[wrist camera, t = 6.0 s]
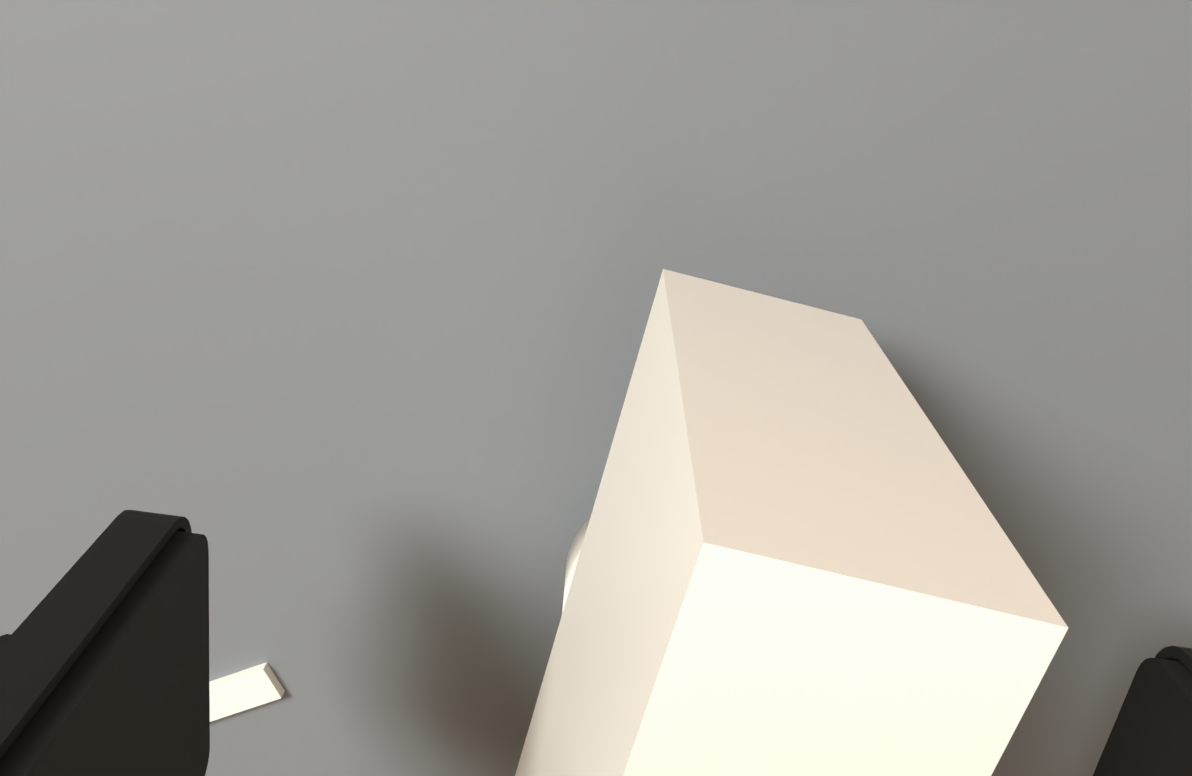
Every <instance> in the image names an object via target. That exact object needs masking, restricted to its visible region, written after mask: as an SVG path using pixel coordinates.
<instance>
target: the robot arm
mask: <svg viewBox="0 0 1192 776" xmlns="http://www.w3.org/2000/svg"><path fill="white" fill-rule="evenodd" d="M209 752H210V696H209V548H208V541H207V538H206V536H205V535H204V534H197V533H192V531H191V526H190V523H189V520H188V519H187V518H186V517H182V516H175V515H167V514H159V513H152V512H144V511H136V510H124V511H123V512H121V513H120V514H119V515H118V516H117V517H116V518H115V519H114V520H113V521H112V523H111V524H110V525H109V526H108V527H107V528H106V529H105V530H104V532H103V533H102V534H101V535H100V536H99V537H98V538H97V539H96V540H95V542H94V543H93V544H92V545H91V546H90V547H89V548H88V549H87V551H86V552H85V553H84V554H83V555H82V556H81V557H80V558H79V560H78V561H77V562H76V563H75V564H74V565H73V566H72V567H71V569H70V570H69V571H68V572H67V573H66V574H65V575H64V576H63V577H62V579H61V580H60V581H59V582H58V583H57V584H56V585H55V586H54V588H53V589H52V590H51V591H50V592H49V593H48V594H47V595H46V597H45V598H44V599H43V600H42V601H41V602H40V603H39V604H38V605H37V607H36V608H35V609H34V610H33V611H32V612H31V613H30V614H29V616H28V617H27V618H26V619H25V620H24V621H23V622H22V623H21V625H20V626H19V627H18V628H17V629H16V630H15V631H14V632H13V633H12V634H5V635H2V636H0V776H205V774H206V770H207V766H208V760H209ZM1093 776H1192V648H1186V647H1178V646H1168V647H1164V648H1163V649H1162V650H1161V651H1159V652H1158V653H1157V655H1156V656H1155V658H1148V659H1145V660H1144V661H1143V662H1142V663H1141V664H1140V666H1139V667H1138V669H1137V671H1136V673H1135V676H1134V678H1133V681H1132V683H1131V685H1130V688H1129V690H1128V693H1127V695H1126V697H1125V700H1124V702H1123V704H1122V707H1121V709H1120V712H1119V714H1118V716H1117V719H1116V721H1115V724H1114V726H1113V728H1112V731H1111V733H1110V735H1109V738H1108V740H1107V743H1106V745H1105V747H1104V750H1103V752H1102V754H1101V757H1100V759H1099V762H1098V764H1097V766H1096V769H1095V771H1094V774H1093Z"/></svg>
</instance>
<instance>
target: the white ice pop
mask: <svg viewBox="0 0 1192 776" xmlns="http://www.w3.org/2000/svg"><path fill="white" fill-rule="evenodd" d="M1067 630H1068V626H1067V625H1066V623H1065V622H1064V620H1063V619H1062V617H1061V616H1060V614H1059V613H1058V611H1057V610H1056V608H1055V607H1054V605H1053V604H1052V602H1051V601H1050V599H1049V598H1048V596H1047V595H1046V594H1045V592H1044V591H1043V589H1042V588H1041V586H1040V585H1039V583H1038V582H1037V580H1036V579H1035V577H1034V576H1033V574H1032V573H1031V571H1030V570H1029V568H1028V567H1027V565H1026V564H1025V562H1024V561H1023V559H1022V558H1021V556H1020V555H1019V553H1018V552H1017V550H1016V549H1015V547H1014V546H1013V544H1012V543H1011V541H1010V540H1009V538H1008V537H1007V535H1006V534H1005V532H1004V531H1003V529H1002V528H1001V527H1000V525H999V524H998V522H997V521H996V519H995V518H994V516H993V515H992V513H991V512H990V510H989V509H988V507H987V506H986V504H985V503H984V501H983V500H982V498H981V497H980V495H979V494H978V492H977V491H976V489H975V488H974V486H973V485H972V483H971V482H970V480H969V479H968V477H967V476H966V474H965V473H964V471H963V470H962V468H961V467H960V465H959V464H958V462H957V461H956V460H955V458H954V457H953V455H952V454H951V452H950V451H949V449H948V448H947V446H946V445H945V443H944V442H943V440H942V439H941V437H940V436H939V434H938V433H937V431H936V430H935V428H934V427H933V425H932V424H931V422H930V421H929V419H928V418H927V416H926V415H925V413H924V412H923V410H922V409H921V407H920V406H919V404H918V403H917V401H916V400H915V398H914V397H913V395H912V394H911V393H910V391H909V390H908V388H907V387H906V385H905V384H904V382H903V381H902V379H901V378H900V376H899V375H898V373H897V372H896V370H895V369H894V367H893V366H892V364H891V363H890V361H889V360H888V358H887V357H886V355H885V354H884V352H883V351H882V349H881V348H880V346H879V345H878V343H877V342H876V340H875V339H874V337H873V336H872V334H871V333H870V331H869V330H868V328H867V327H866V325H865V324H864V323H863V321H862V320H861V319H858V318H854V317H850V316H846V315H842V314H838V313H834V312H830V311H826V310H822V309H819V308H815V307H811V306H807V305H803V304H799V303H795V302H791V301H787V300H783V299H779V298H775V297H772V296H768V295H764V294H760V293H756V292H752V291H748V290H744V289H740V288H736V287H732V286H728V285H724V284H721V283H717V282H713V281H709V280H705V279H701V278H697V277H693V276H689V275H685V274H681V273H677V272H673V271H670V270H666V269H663V271H662V274H661V278H660V281H659V284H658V288H657V291H656V295H655V298H654V302H653V305H652V308H651V312H650V315H649V319H648V322H647V325H646V329H645V332H644V336H643V339H642V343H641V346H640V349H639V353H638V356H637V360H636V363H635V367H634V370H633V373H632V377H631V380H630V384H629V387H628V390H627V394H626V397H625V401H624V404H623V408H622V411H621V414H620V418H619V421H618V425H617V428H616V432H615V435H614V438H613V442H612V445H611V449H610V452H609V456H608V459H607V462H606V466H605V469H604V473H603V476H602V479H601V483H600V486H599V490H598V493H597V497H596V500H595V503H594V507H593V510H592V514H591V517H590V518H589V519H588V520H587V521H586V522H585V523H584V524H583V525H582V527H581V528H580V529H579V531H578V532H577V533H576V535H575V537H574V539H573V540H572V542H571V545H570V548H569V551H568V555H567V561H566V573H565V585H564V597H563V609H562V616H561V620H560V623H559V627H558V630H557V633H556V637H555V640H554V644H553V647H552V651H551V654H550V657H549V661H548V664H547V668H546V671H545V675H544V678H543V681H542V685H541V688H540V692H539V695H538V698H537V702H536V705H535V709H534V712H533V716H532V719H531V722H530V726H529V729H528V733H527V736H526V740H525V743H524V746H523V750H522V753H521V757H520V760H519V764H518V767H517V770H516V774H515V776H991V775H992V773H993V771H994V769H995V767H996V765H997V764H998V762H999V760H1000V758H1001V756H1002V754H1003V752H1004V750H1005V748H1006V746H1007V744H1008V743H1009V741H1010V739H1011V737H1012V735H1013V733H1014V731H1015V729H1016V727H1017V725H1018V723H1019V722H1020V720H1021V718H1022V716H1023V714H1024V712H1025V710H1026V708H1027V706H1028V704H1029V702H1030V700H1031V699H1032V697H1033V695H1034V693H1035V691H1036V689H1037V687H1038V685H1039V683H1040V681H1041V679H1042V678H1043V676H1044V674H1045V672H1046V670H1047V668H1048V666H1049V664H1050V662H1051V660H1052V658H1053V657H1054V655H1055V653H1056V651H1057V649H1058V647H1059V645H1060V643H1061V641H1062V639H1063V637H1064V636H1065V634H1066V632H1067Z"/></svg>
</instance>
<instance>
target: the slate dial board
mask: <svg viewBox="0 0 1192 776" xmlns="http://www.w3.org/2000/svg"><path fill="white" fill-rule="evenodd" d="M663 269H666V270H670V271H673V272H677V273H681V274H685V275H689V276H693V277H697V278H701V279H705V280H709V281H713V282H717V283H721V284H724V285H728V286H732V287H736V288H740V289H744V290H748V291H752V292H756V293H760V294H764V295H768V296H772V297H775V298H779V299H783V300H787V301H791V302H795V303H799V304H803V305H807V306H811V307H815V308H819V309H822V310H826V311H830V312H834V313H838V314H842V315H846V316H850V317H854V318H858V319H861V320H862V321H863V323H864V324H865V325H866V327H867V328H868V330H869V331H870V333H871V334H872V336H873V337H874V339H875V340H876V342H877V343H878V345H879V346H880V348H881V349H882V351H883V352H884V354H885V355H886V357H887V358H888V360H889V361H890V363H891V364H892V366H893V367H894V369H895V370H896V372H897V373H898V375H899V376H900V378H901V379H902V381H903V382H904V384H905V385H906V387H907V388H908V390H909V391H910V393H911V394H912V395H913V397H914V398H915V400H916V401H917V403H918V404H919V406H920V407H921V409H922V410H923V412H924V413H925V415H926V416H927V418H928V419H929V421H930V422H931V424H932V425H933V427H934V428H935V430H936V431H937V433H938V434H939V436H940V437H941V439H942V440H943V442H944V443H945V445H946V446H947V448H948V449H949V451H950V452H951V454H952V455H953V457H954V458H955V460H956V461H957V462H958V464H959V465H960V467H961V468H962V470H963V471H964V473H965V474H966V476H967V477H968V479H969V480H970V482H971V483H972V485H973V486H974V488H975V489H976V491H977V492H978V494H979V495H980V497H981V498H982V500H983V501H984V503H985V504H986V506H987V507H988V509H989V510H990V512H991V513H992V515H993V516H994V518H995V519H996V521H997V522H998V524H999V525H1000V527H1001V528H1002V529H1003V531H1004V532H1005V534H1006V535H1007V537H1008V538H1009V540H1010V541H1011V543H1012V544H1013V546H1014V547H1015V549H1016V550H1017V552H1018V553H1019V555H1020V556H1021V558H1022V559H1023V561H1024V562H1025V564H1026V565H1027V567H1028V568H1029V570H1030V571H1031V573H1032V574H1033V576H1034V577H1035V579H1036V580H1037V582H1038V583H1039V585H1040V586H1041V588H1042V589H1043V591H1044V592H1045V594H1046V595H1047V596H1048V598H1049V599H1050V601H1051V602H1052V604H1053V605H1054V607H1055V608H1056V610H1057V611H1058V613H1059V614H1060V616H1061V617H1062V619H1063V620H1064V622H1065V623H1066V625H1067V626H1068V630H1067V632H1066V634H1065V636H1064V637H1063V639H1062V641H1061V643H1060V645H1059V647H1058V649H1057V651H1056V653H1055V655H1054V657H1053V658H1052V660H1051V662H1050V664H1049V666H1048V668H1047V670H1046V672H1045V674H1044V676H1043V678H1042V679H1041V681H1040V683H1039V685H1038V687H1037V689H1036V691H1035V693H1034V695H1033V697H1032V699H1031V700H1030V702H1029V704H1028V706H1027V708H1026V710H1025V712H1024V714H1023V716H1022V718H1021V720H1020V722H1019V723H1018V725H1017V727H1016V729H1015V731H1014V733H1013V735H1012V737H1011V739H1010V741H1009V743H1008V744H1007V746H1006V748H1005V750H1004V752H1003V754H1002V756H1001V758H1000V760H999V762H998V764H997V765H996V767H995V769H994V771H993V773H992V775H991V776H1093V774H1094V771H1095V769H1096V766H1097V764H1098V762H1099V759H1100V757H1101V754H1102V752H1103V750H1104V747H1105V745H1106V743H1107V740H1108V738H1109V735H1110V733H1111V731H1112V728H1113V726H1114V724H1115V721H1116V719H1117V716H1118V714H1119V712H1120V709H1121V707H1122V704H1123V702H1124V700H1125V697H1126V695H1127V693H1128V690H1129V688H1130V685H1131V683H1132V681H1133V678H1134V676H1135V673H1136V671H1137V669H1138V667H1139V666H1140V664H1141V663H1142V662H1143V661H1144V660H1145V659H1148V658H1155V656H1156V655H1157V653H1158V652H1159V651H1161V650H1162V649H1163V648H1164V647H1168V646H1178V647H1186V648H1192V0H0V636H2V635H5V634H12V633H13V632H14V631H15V630H16V629H17V628H18V627H19V626H20V625H21V623H22V622H23V621H24V620H25V619H26V618H27V617H28V616H29V614H30V613H31V612H32V611H33V610H34V609H35V608H36V607H37V605H38V604H39V603H40V602H41V601H42V600H43V599H44V598H45V597H46V595H47V594H48V593H49V592H50V591H51V590H52V589H53V588H54V586H55V585H56V584H57V583H58V582H59V581H60V580H61V579H62V577H63V576H64V575H65V574H66V573H67V572H68V571H69V570H70V569H71V567H72V566H73V565H74V564H75V563H76V562H77V561H78V560H79V558H80V557H81V556H82V555H83V554H84V553H85V552H86V551H87V549H88V548H89V547H90V546H91V545H92V544H93V543H94V542H95V540H96V539H97V538H98V537H99V536H100V535H101V534H102V533H103V532H104V530H105V529H106V528H107V527H108V526H109V525H110V524H111V523H112V521H113V520H114V519H115V518H116V517H117V516H118V515H119V514H120V513H121V512H123V511H124V510H136V511H144V512H152V513H159V514H167V515H175V516H182V517H186V518H187V519H188V520H189V523H190V526H191V531H192V533H197V534H204V535H205V536H206V538H207V541H208V548H209V696H210V752H209V760H208V766H207V770H206V774H205V776H515V774H516V770H517V767H518V764H519V760H520V757H521V753H522V750H523V746H524V743H525V740H526V736H527V733H528V729H529V726H530V722H531V719H532V716H533V712H534V709H535V705H536V702H537V698H538V695H539V692H540V688H541V685H542V681H543V678H544V675H545V671H546V668H547V664H548V661H549V657H550V654H551V651H552V647H553V644H554V640H555V637H556V633H557V630H558V627H559V623H560V620H561V616H562V609H563V597H564V585H565V573H566V561H567V555H568V551H569V548H570V545H571V542H572V540H573V539H574V537H575V535H576V533H577V532H578V531H579V529H580V528H581V527H582V525H583V524H584V523H585V522H586V521H587V520H588V519H589V518H590V517H591V514H592V510H593V507H594V503H595V500H596V497H597V493H598V490H599V486H600V483H601V479H602V476H603V473H604V469H605V466H606V462H607V459H608V456H609V452H610V449H611V445H612V442H613V438H614V435H615V432H616V428H617V425H618V421H619V418H620V414H621V411H622V408H623V404H624V401H625V397H626V394H627V390H628V387H629V384H630V380H631V377H632V373H633V370H634V367H635V363H636V360H637V356H638V353H639V349H640V346H641V343H642V339H643V336H644V332H645V329H646V325H647V322H648V319H649V315H650V312H651V308H652V305H653V302H654V298H655V295H656V291H657V288H658V284H659V281H660V278H661V274H662V271H663Z"/></svg>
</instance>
